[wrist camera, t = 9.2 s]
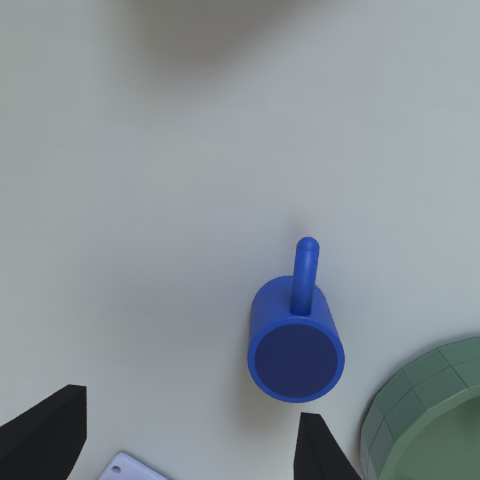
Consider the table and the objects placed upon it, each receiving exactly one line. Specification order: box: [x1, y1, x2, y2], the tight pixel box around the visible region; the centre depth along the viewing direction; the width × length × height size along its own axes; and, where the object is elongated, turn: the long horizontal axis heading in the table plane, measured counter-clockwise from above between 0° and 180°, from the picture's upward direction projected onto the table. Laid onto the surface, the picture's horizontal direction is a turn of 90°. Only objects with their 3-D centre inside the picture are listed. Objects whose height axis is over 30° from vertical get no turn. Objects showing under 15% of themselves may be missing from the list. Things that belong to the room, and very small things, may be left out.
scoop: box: [248, 237, 345, 403], centre depth 19 cm, size 7×4×5 cm, turn 176°
